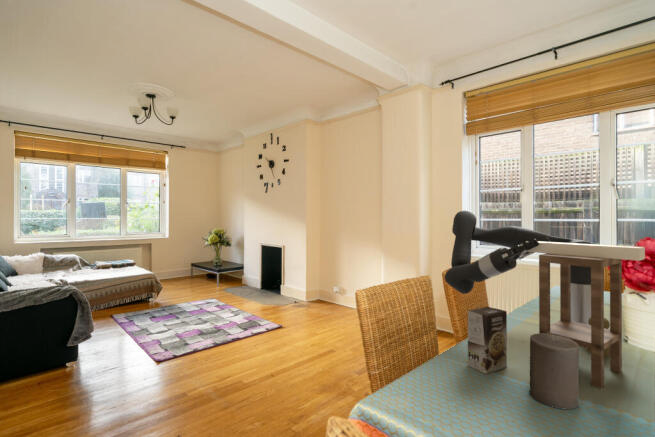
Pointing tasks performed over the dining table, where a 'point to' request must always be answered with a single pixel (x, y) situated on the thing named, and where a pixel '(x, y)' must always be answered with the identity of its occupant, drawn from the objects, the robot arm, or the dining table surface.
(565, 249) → the cutlery box
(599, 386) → the walnut shelf
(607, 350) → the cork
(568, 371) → the pillar candle
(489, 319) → the coffee box
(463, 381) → the dining table surface
